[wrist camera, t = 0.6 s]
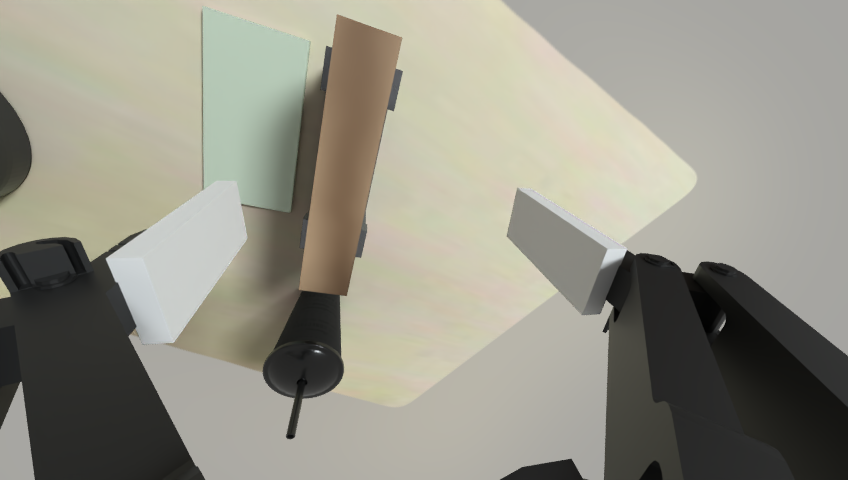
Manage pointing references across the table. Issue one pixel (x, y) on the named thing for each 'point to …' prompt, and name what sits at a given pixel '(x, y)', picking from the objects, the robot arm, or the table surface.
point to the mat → (252, 107)
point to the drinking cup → (307, 352)
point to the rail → (347, 151)
